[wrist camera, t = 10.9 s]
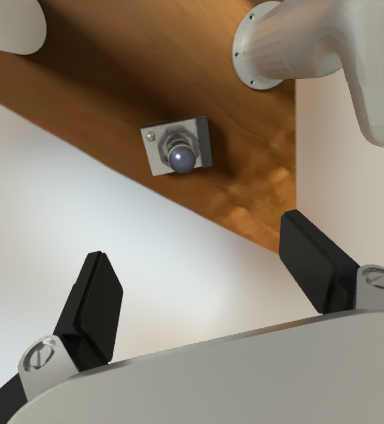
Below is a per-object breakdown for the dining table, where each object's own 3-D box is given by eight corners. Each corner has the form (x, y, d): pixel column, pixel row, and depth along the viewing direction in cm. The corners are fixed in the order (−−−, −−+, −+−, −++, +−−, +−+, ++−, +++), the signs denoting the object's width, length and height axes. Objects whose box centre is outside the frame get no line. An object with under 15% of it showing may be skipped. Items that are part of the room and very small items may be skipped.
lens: (188, 133, 41) (194, 143, 34) (192, 157, 43) (198, 171, 36) (163, 138, 40) (165, 149, 33) (169, 161, 43) (171, 177, 36)
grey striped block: (201, 113, 44) (208, 118, 38) (207, 157, 48) (214, 167, 42) (141, 124, 43) (139, 131, 37) (153, 168, 48) (152, 180, 42)
